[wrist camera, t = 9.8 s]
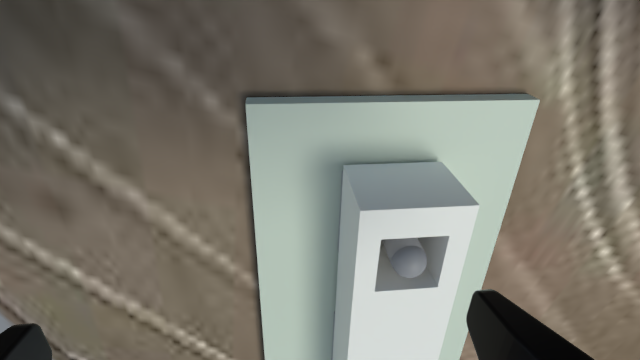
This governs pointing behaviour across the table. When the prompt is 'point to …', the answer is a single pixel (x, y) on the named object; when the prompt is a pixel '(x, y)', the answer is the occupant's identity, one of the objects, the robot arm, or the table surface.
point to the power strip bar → (376, 270)
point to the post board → (326, 194)
